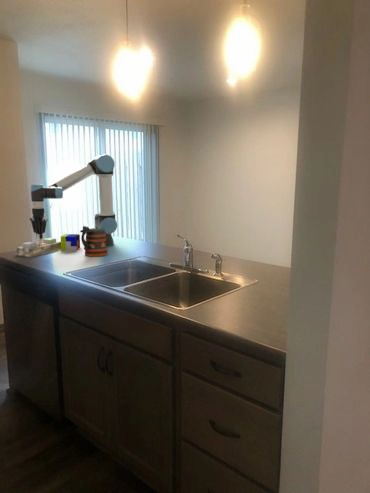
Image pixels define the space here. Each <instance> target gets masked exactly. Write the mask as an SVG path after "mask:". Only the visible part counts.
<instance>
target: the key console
mask: <svg viewBox="0 0 370 493" xmlns="http://www.w3.org/2000/svg"><path fill="white" fill-rule="evenodd" d="M42 243H43V241H42ZM46 244H47V245H42V246H37V247H34V248H23V245H22V246H17V247H16V256H20V257H28V258H33V257H37V256H40V255H41V256H42V255H44V254H48V253H52V252H53V253H54V252H56V250H57V251H61V250H60V249H61V241H57V240H56V242H55V243H51V244H48V243H46Z"/></svg>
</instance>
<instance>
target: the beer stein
mask: <svg viewBox="0 0 370 493" xmlns="http://www.w3.org/2000/svg"><path fill="white" fill-rule="evenodd" d="M79 232H80V233H81V235H80V241H81V243H82V245H83V249H84V255H85V256H87V257H91V258H94V257H97V258H99V257H105V256H108V250H109V249H108V246H106V234H105V230H103V228H101V229H100V228H95V227H93V228H92V227H91V228H90V227H88V226H86V225H83V226H82V230H81V229H80V231H79Z"/></svg>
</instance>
